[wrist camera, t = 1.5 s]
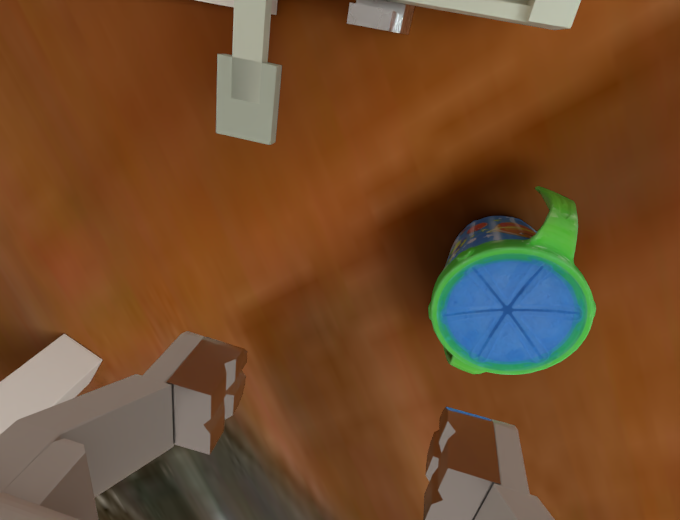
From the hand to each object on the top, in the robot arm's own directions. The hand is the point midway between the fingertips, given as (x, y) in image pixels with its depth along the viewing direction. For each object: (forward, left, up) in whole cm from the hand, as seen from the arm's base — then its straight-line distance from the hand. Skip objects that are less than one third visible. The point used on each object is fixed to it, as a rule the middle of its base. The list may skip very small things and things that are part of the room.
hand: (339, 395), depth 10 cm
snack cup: (-9, +8, -29) cm, 32 cm away
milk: (+37, +37, -29) cm, 60 cm away
